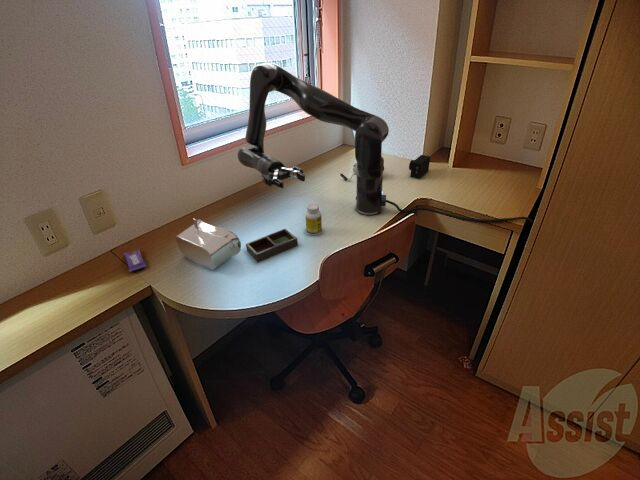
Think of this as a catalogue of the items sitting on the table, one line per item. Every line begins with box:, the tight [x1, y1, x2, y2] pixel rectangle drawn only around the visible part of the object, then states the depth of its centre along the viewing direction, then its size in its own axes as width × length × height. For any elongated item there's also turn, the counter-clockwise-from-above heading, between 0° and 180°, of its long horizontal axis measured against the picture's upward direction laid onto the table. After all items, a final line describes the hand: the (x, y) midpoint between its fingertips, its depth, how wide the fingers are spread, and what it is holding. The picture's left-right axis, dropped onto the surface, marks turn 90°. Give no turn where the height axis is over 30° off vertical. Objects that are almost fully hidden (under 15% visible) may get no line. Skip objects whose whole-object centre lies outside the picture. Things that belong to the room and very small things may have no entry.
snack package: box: [123, 248, 147, 273], centre depth 111 cm, size 12×2×5 cm
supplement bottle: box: [304, 203, 323, 236], centre depth 120 cm, size 5×5×10 cm
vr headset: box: [175, 217, 242, 271], centre depth 109 cm, size 18×11×14 cm, turn 55°
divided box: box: [245, 228, 299, 263], centre depth 114 cm, size 8×14×3 cm, turn 125°
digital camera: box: [408, 154, 431, 180], centre depth 157 cm, size 10×5×7 cm, turn 144°
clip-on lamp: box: [339, 162, 385, 182], centre depth 158 cm, size 12×6×18 cm
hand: (293, 182), depth 122 cm, fingers open, 8 cm apart
